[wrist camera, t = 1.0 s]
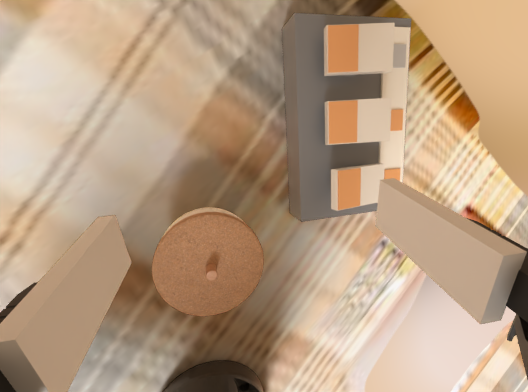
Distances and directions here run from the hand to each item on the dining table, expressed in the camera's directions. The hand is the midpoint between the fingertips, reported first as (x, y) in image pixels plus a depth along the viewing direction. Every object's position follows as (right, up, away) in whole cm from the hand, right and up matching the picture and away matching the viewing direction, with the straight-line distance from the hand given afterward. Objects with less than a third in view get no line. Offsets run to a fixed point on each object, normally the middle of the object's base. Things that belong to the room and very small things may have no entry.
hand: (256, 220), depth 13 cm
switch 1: (+10, +16, +14) cm, 24 cm away
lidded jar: (-7, -4, +20) cm, 22 cm away
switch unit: (+10, +11, +21) cm, 26 cm away
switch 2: (+10, +9, +16) cm, 21 cm away
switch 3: (+11, +2, +17) cm, 20 cm away
